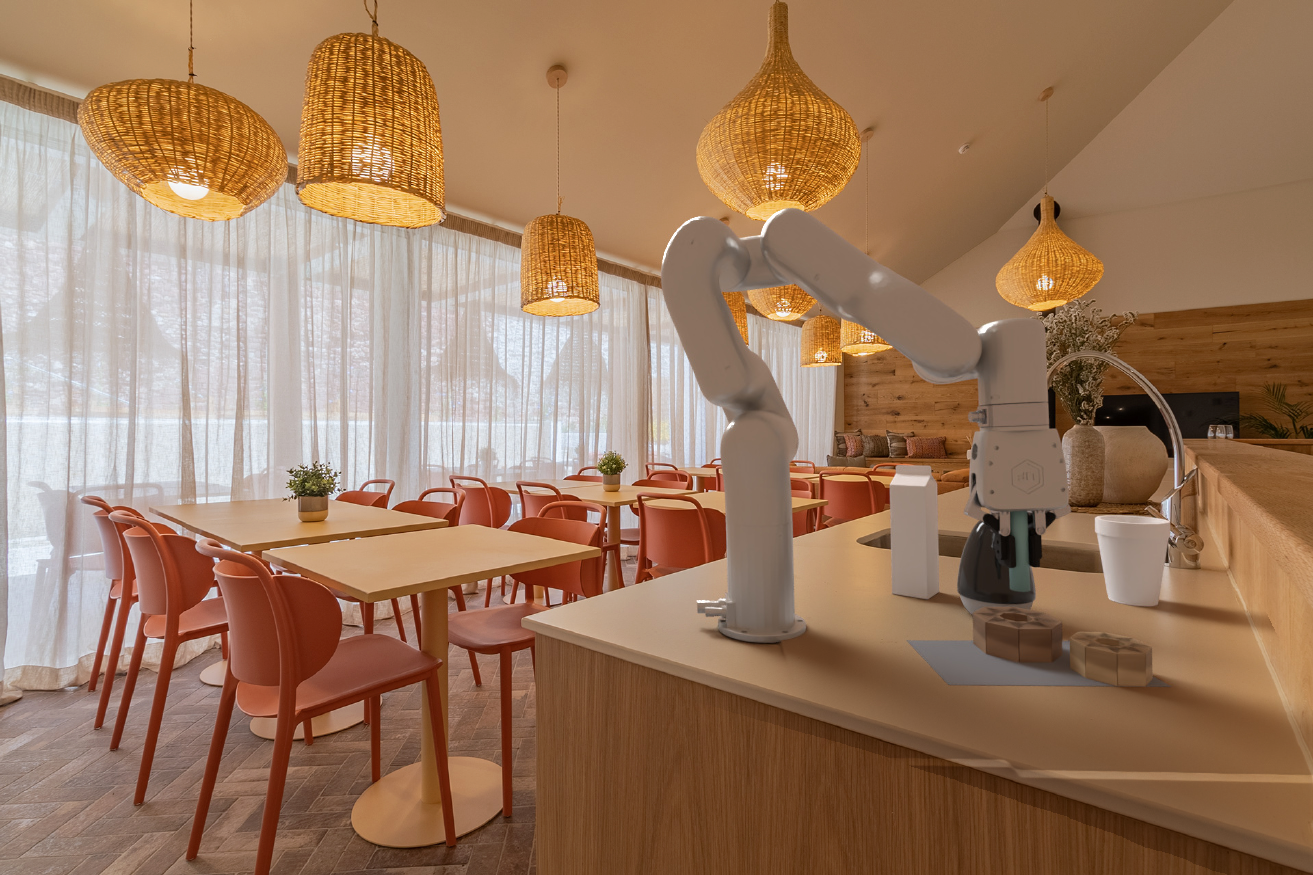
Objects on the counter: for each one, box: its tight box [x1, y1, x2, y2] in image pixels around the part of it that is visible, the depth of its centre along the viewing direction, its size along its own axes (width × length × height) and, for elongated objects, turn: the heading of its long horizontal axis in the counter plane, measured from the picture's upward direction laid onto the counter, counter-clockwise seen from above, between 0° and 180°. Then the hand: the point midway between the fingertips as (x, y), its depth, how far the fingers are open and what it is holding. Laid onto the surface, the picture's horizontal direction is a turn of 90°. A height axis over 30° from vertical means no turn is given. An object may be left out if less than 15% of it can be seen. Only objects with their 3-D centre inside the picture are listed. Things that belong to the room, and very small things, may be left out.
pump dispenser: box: [956, 520, 1037, 616], centre depth 90 cm, size 10×10×15 cm
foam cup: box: [1094, 514, 1171, 607], centre depth 97 cm, size 10×9×13 cm
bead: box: [972, 607, 1063, 663], centre depth 77 cm, size 9×9×4 cm
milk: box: [889, 464, 940, 600], centre depth 105 cm, size 6×6×22 cm
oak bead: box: [1069, 631, 1154, 687], centre depth 69 cm, size 7×7×4 cm
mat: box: [906, 639, 1172, 688], centre depth 73 cm, size 23×14×1 cm, turn 85°
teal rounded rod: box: [1009, 511, 1030, 592], centre depth 76 cm, size 2×2×12 cm
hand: (1018, 564), depth 76 cm, fingers closed on teal rounded rod, 2 cm apart
